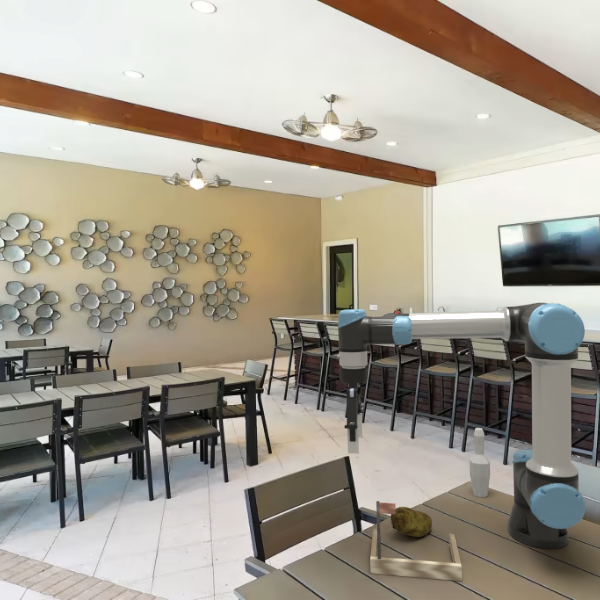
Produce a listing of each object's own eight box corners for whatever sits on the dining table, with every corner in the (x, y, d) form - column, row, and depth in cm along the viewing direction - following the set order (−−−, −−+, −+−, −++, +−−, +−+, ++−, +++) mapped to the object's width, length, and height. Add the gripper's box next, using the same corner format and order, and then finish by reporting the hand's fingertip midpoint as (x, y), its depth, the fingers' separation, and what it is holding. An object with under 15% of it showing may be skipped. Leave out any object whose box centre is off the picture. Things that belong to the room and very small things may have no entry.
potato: (440, 540, 131) (440, 511, 131) (395, 544, 129) (395, 515, 129) (428, 525, 139) (427, 498, 139) (385, 529, 137) (385, 502, 137)
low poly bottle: (470, 497, 157) (469, 431, 157) (470, 489, 163) (468, 425, 163) (491, 499, 155) (489, 432, 155) (489, 491, 161) (488, 426, 161)
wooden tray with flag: (454, 547, 127) (452, 482, 127) (462, 581, 112) (460, 507, 112) (373, 540, 131) (371, 478, 131) (370, 573, 116) (368, 502, 116)
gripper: (344, 359, 142) (346, 430, 142) (333, 374, 117) (336, 460, 117) (369, 359, 140) (371, 431, 140) (364, 374, 116) (366, 461, 116)
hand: (355, 444), depth 129 cm, fingers open, 13 cm apart
